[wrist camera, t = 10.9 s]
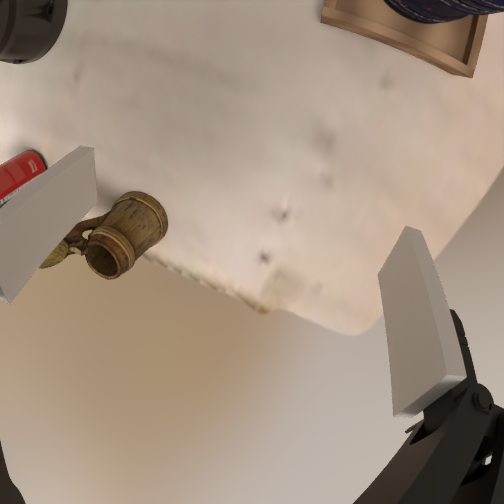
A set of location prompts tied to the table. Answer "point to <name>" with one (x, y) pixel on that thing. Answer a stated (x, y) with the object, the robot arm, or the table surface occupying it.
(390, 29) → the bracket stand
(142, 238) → the wooden mug
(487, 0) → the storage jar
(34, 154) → the soda can
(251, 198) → the table surface
